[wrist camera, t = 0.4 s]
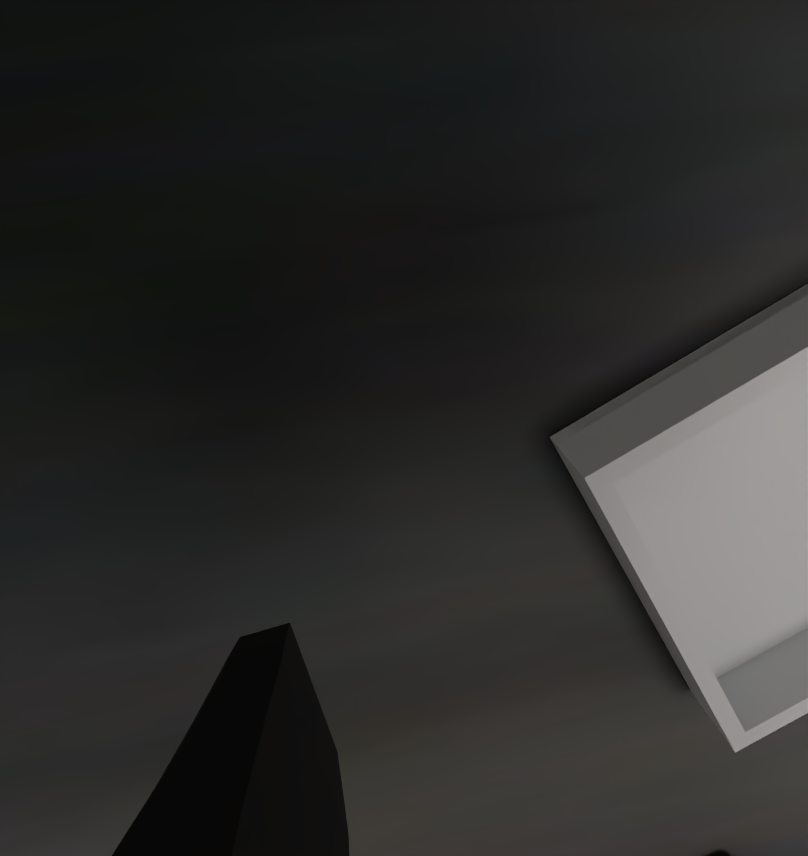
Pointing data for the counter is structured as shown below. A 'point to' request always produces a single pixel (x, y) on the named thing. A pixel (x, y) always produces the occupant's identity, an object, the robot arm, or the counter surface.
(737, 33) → the counter surface
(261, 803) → the robot arm
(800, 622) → the tray
